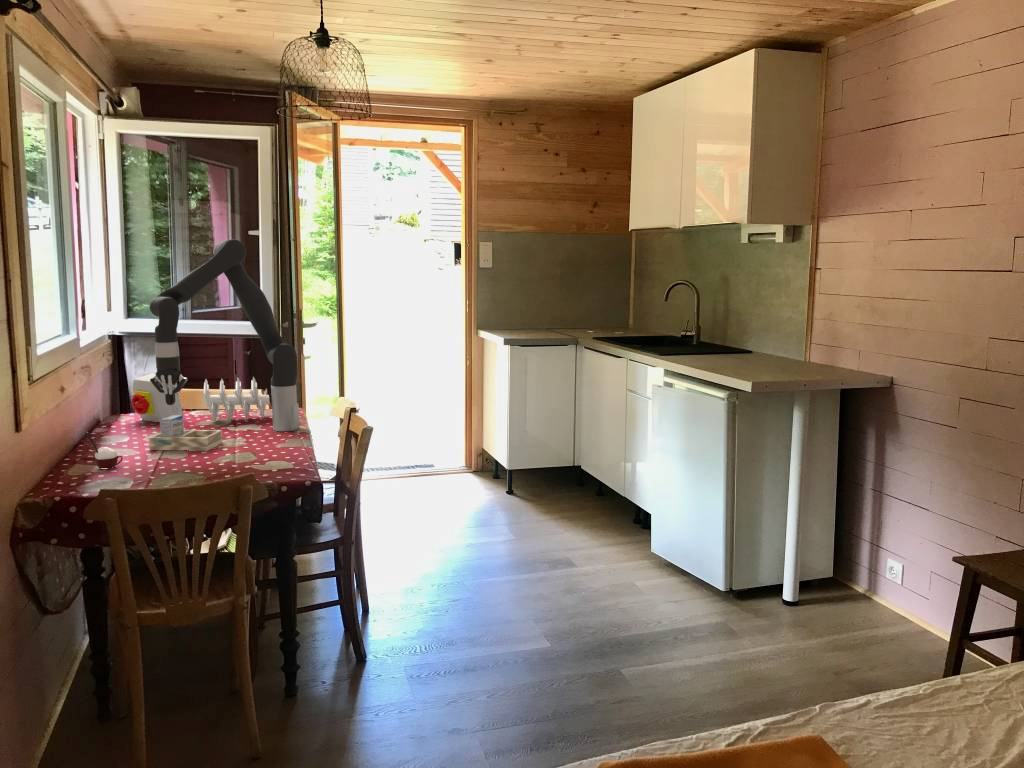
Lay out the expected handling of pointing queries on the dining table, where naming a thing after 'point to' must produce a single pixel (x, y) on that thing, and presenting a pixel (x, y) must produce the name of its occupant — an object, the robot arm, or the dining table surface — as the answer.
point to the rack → (187, 441)
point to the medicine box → (172, 426)
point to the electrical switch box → (153, 400)
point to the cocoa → (105, 456)
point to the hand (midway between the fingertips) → (170, 404)
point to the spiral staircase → (234, 400)
